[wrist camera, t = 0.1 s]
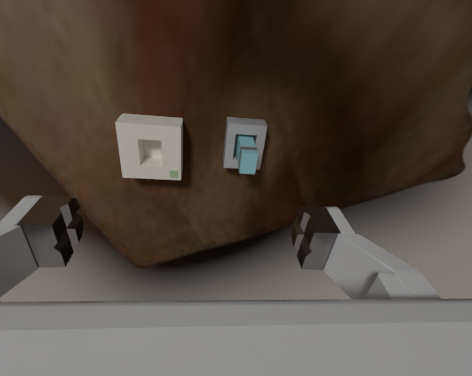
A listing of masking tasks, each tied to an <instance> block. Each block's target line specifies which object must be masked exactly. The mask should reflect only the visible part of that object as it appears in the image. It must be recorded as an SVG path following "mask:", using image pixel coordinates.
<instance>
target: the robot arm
mask: <svg viewBox="0 0 472 376" xmlns="http://www.w3.org/2000/svg"><path fill="white" fill-rule="evenodd" d="M79 208H80V207H79V203H78V200H77V199H76V198H72V197H54V196H33V195H29V196H25V197H24V198H23V199H22V200H21V201H20V202H19V203H18V204H17V205H16V206H15V207H14V208H13V209H12V210H11V211H10V212H9V213H8V214H7V215H6V216H5V217H4V218H3V219H2V220H1V221H0V297H1V296H2V295H4V294H5V293H6V292H8V291H9V290H11V289H12V288H13V287H15V286H16V285H17V284H19V283H20V282H21V281H22V280H24V279H25V278H26V277H27V276H29V275H30V274H32V273H33V272H34V271H35V270H37V269H38V267H66V265H67V263H68V262H69V260H70V258H71V256H72V254H73V253H74V252H73V248H72V247H73V246H74V245H76V244H77V243H79V241H80V240H81V237H82V234H83V230H84V227H83V226H84V225H83V219H82V217H81V216H80V215H79V214H78V213H77V211H78V209H79ZM296 216H297V219H298V220H297V221H296V222H294V223H293V227H292V234H291V235H292V236H291V237H292V243H293V246H294V247H295V248H296V249H297V250H298V253H297V257H298V260H299V263H300V265H301V268H302V269H319V270H323V271H324V272H325V273H326V274H327V275H328V276H329V277H330V278H331V279H332V280H333V281H334V282H335V283H336V284H337V285H338V286H339V287H340V288H341V289H342V290H343V291H344V292H345V293H346V294H347V295H348V296H349V297H350V298H352V300H215V301H86V302H85V301H82V302H0V376H472V299H441V298H440V297H439V296H438V294H437V293H436V292H435V291H434V289H433V288H432V287H431V286H430V284H429V283H428V282H427V280H426V279H425V278H424V277H423V276H422V274H421V273H420V272H419V271H417V270H416V269H414V268H413V267H411V266H409V265H408V264H406V263H404V262H403V261H401V260H400V259H398V258H396V257H395V256H393V255H392V254H390V253H389V252H387V251H385V250H384V249H382V248H381V247H379V246H377V245H376V244H374V243H372V242H371V241H369V240H368V239H366V238H365V237H363V236H361V235H359V234H355V232H354V231H353V230H352V228H351V226H350V225H349V223H348V222H347V220H346V219H345V217H344V216H343V214H342V213H341V211H340V209H339V208H337V207H303V206H299V208H298V209H297V212H296Z"/></svg>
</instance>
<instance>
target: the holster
mask: <svg viewBox="0 0 472 376" xmlns="http://www.w3.org/2000/svg"><path fill="white" fill-rule="evenodd" d="M266 132H267V124H266V122H265V120H261V119H248V118H235V117H227V120H226V131H225V142H224V153H223V166H224V168H238V163H237V157H236V152H235V149H236V140H237V134H243V135H252V136H253V139H254V142H255V145H256V147H257V151H258V159H257V165H256V169H257V170H260V166H261V160H262V154H263V149H264V143H265V137H266Z"/></svg>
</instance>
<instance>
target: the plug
mask: <svg viewBox="0 0 472 376" xmlns="http://www.w3.org/2000/svg"><path fill="white" fill-rule="evenodd" d="M235 152H236V157H237V163H238V170H239V173H240V174H255V171H256V165H257V159H258V151H257V147H256V145H255V142H254V139H253V136H252V135H243V134H237V140H236V149H235Z"/></svg>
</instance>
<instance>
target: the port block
mask: <svg viewBox="0 0 472 376" xmlns="http://www.w3.org/2000/svg"><path fill="white" fill-rule="evenodd" d="M115 124H116V132H117V139H118V147H119V154H120V162H121V169H122V176H123V178H143V179H164V180H181V177H182V170H183V118H174V117H161V116H148V115H135V114H121V116H120V117H119V118H118V119H117V121H116V122H115Z"/></svg>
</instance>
